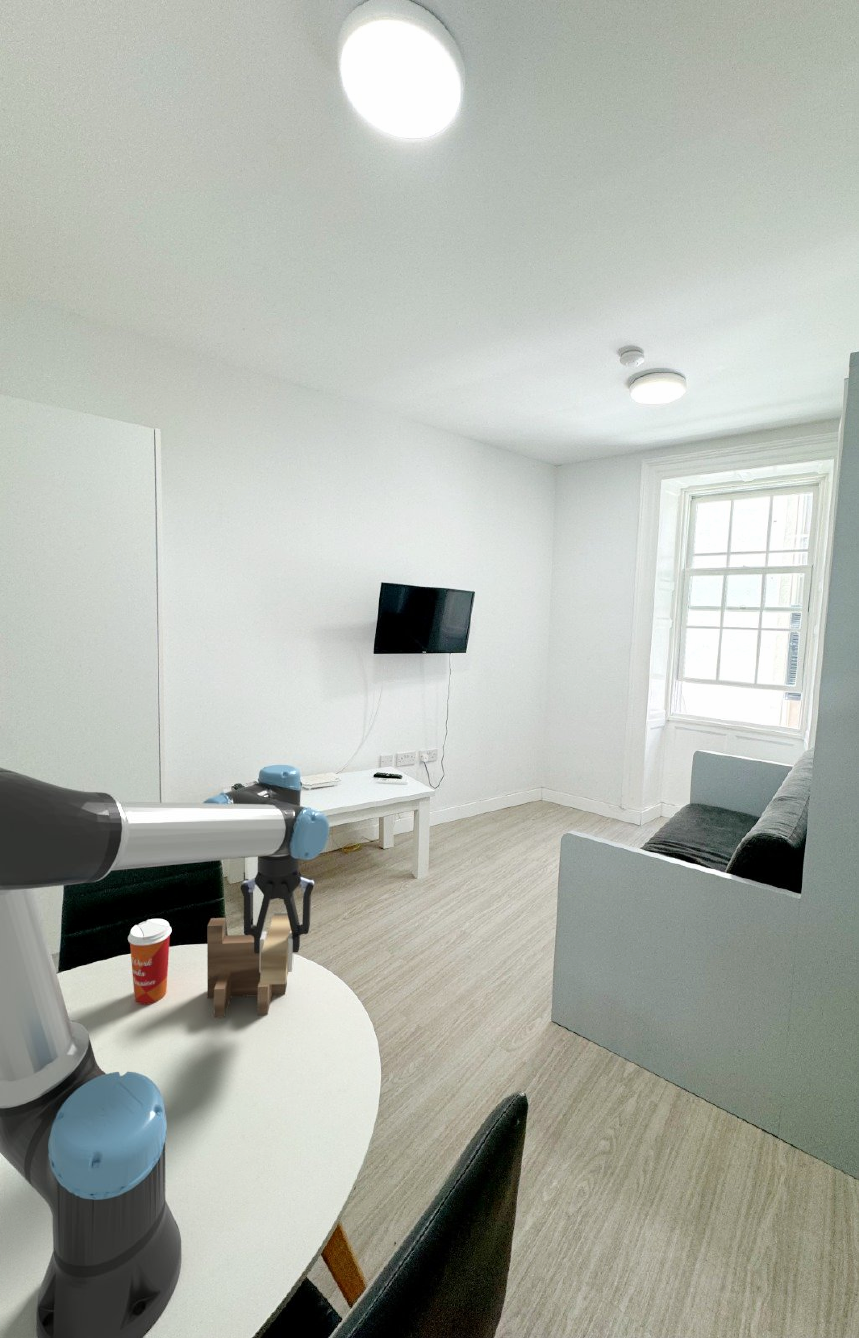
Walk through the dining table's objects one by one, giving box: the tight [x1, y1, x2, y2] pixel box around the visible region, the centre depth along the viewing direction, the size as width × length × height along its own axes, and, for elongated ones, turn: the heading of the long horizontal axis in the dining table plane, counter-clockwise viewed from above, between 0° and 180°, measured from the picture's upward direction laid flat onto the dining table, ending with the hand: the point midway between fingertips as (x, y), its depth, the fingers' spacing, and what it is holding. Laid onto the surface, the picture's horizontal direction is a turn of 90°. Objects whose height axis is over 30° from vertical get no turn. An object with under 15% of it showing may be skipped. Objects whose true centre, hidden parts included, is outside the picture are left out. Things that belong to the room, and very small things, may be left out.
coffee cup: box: [127, 918, 173, 1005], centre depth 119 cm, size 8×8×15 cm
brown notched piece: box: [206, 917, 288, 1018], centre depth 118 cm, size 9×16×16 cm, turn 98°
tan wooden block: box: [260, 912, 291, 985], centre depth 109 cm, size 14×4×6 cm, turn 6°
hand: (276, 967), depth 107 cm, fingers closed on tan wooden block, 4 cm apart
